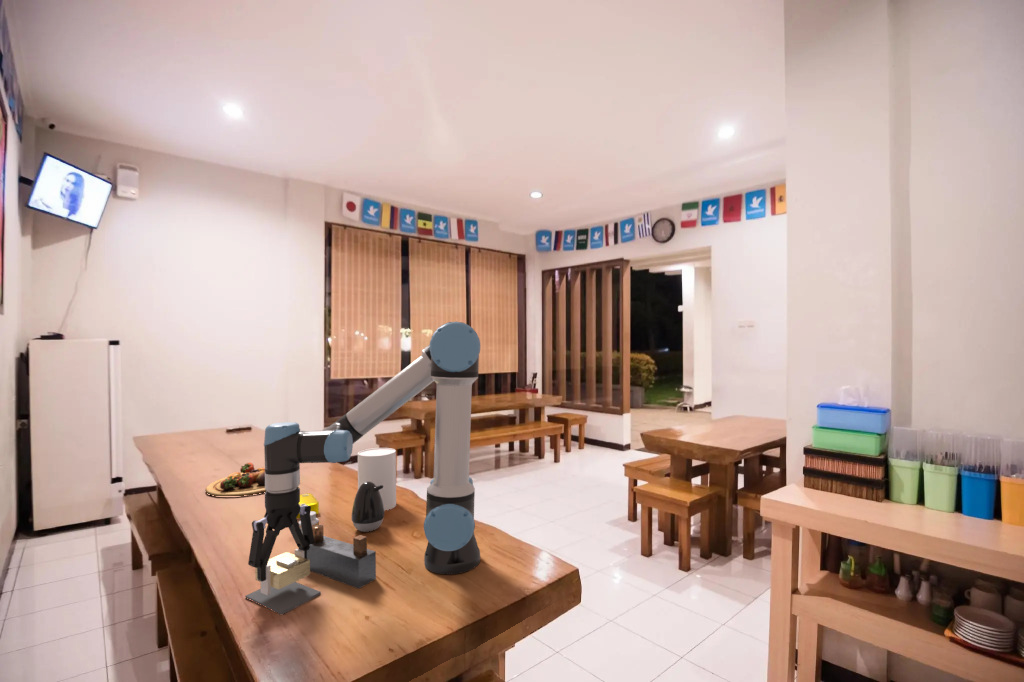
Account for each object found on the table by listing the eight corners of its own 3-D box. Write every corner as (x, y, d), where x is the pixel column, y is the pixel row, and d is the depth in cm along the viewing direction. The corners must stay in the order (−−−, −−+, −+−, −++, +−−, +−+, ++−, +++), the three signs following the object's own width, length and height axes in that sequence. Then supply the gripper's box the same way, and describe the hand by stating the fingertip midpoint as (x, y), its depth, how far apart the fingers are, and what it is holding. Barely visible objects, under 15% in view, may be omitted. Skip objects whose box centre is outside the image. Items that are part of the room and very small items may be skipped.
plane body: (375, 579, 120) (375, 535, 120) (358, 588, 115) (358, 543, 115) (319, 559, 131) (319, 519, 131) (301, 567, 126) (301, 526, 126)
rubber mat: (320, 594, 113) (320, 591, 113) (281, 615, 104) (281, 612, 104) (284, 579, 120) (284, 577, 120) (245, 598, 111) (245, 595, 111)
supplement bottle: (321, 544, 141) (321, 509, 141) (315, 552, 136) (315, 516, 136) (302, 545, 141) (302, 510, 141) (295, 553, 135) (295, 517, 135)
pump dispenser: (375, 536, 147) (375, 487, 147) (345, 534, 149) (344, 485, 149) (390, 524, 157) (390, 478, 157) (361, 522, 159) (361, 476, 159)
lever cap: (309, 574, 113) (309, 556, 113) (278, 589, 106) (278, 570, 106) (286, 565, 118) (286, 548, 118) (255, 579, 111) (255, 561, 111)
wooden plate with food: (218, 480, 212) (218, 461, 212) (295, 472, 222) (295, 455, 222) (194, 504, 182) (193, 483, 181) (285, 494, 191) (284, 474, 191)
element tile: (272, 525, 158) (272, 510, 158) (267, 512, 171) (266, 498, 171) (320, 515, 166) (320, 501, 167) (311, 503, 179) (311, 491, 179)
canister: (398, 509, 171) (398, 453, 171) (359, 514, 166) (358, 457, 166) (393, 498, 183) (393, 446, 183) (356, 502, 178) (356, 449, 178)
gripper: (310, 475, 123) (311, 563, 123) (228, 498, 105) (229, 601, 105) (329, 479, 119) (330, 570, 119) (248, 504, 101) (249, 610, 101)
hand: (283, 584), depth 112 cm, fingers closed on lever cap, 8 cm apart
